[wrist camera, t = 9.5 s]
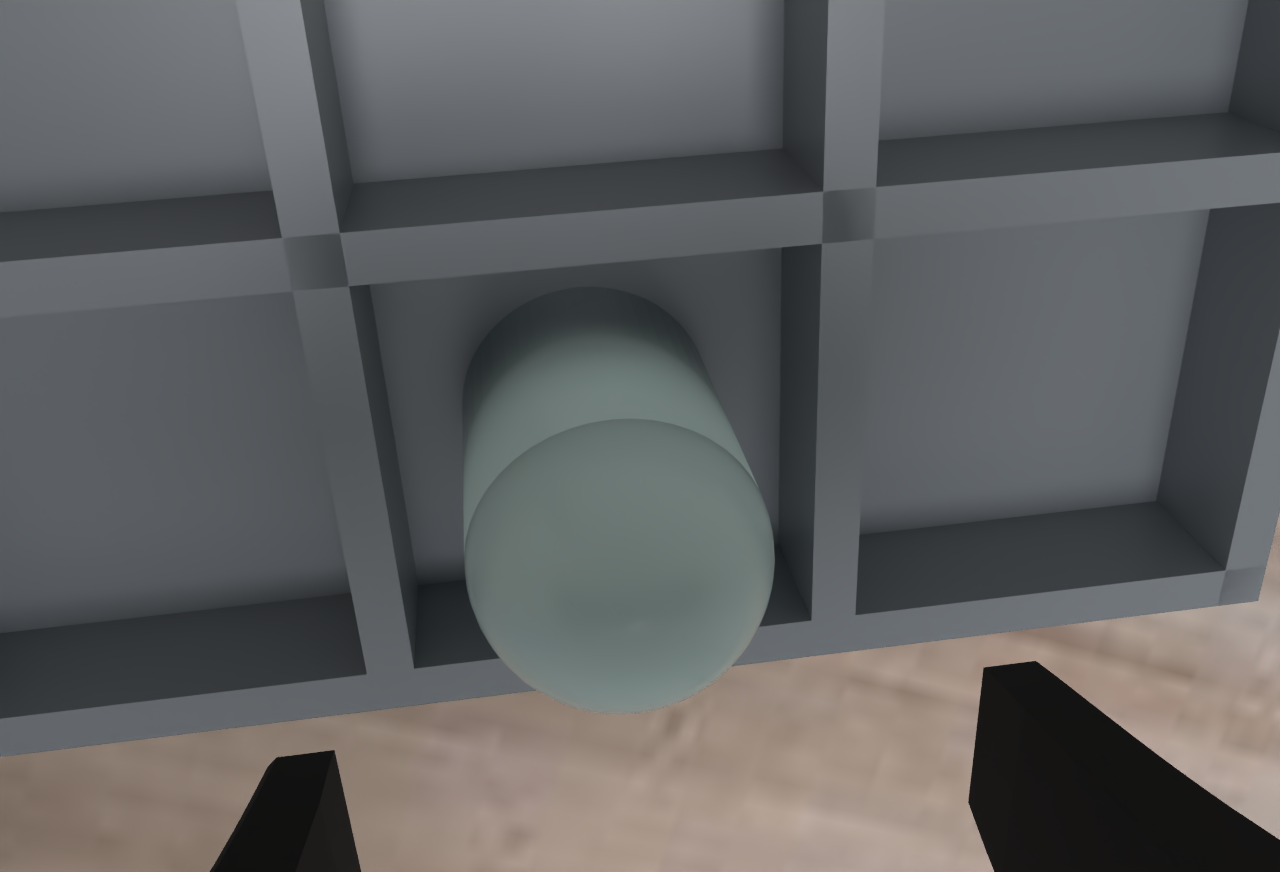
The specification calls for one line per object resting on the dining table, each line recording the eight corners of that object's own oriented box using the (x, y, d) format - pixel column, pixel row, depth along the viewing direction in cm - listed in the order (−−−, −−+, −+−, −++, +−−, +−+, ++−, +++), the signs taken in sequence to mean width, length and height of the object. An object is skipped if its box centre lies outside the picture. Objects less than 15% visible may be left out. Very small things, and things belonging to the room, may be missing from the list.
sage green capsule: (477, 520, 22) (484, 803, 16) (448, 299, 20) (444, 523, 14) (709, 494, 23) (807, 760, 16) (704, 275, 21) (813, 483, 14)
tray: (-23, 640, 23) (-96, 768, 20) (-412, -375, 15) (-627, -419, 12) (1161, 504, 26) (1258, 600, 22) (1338, -437, 18) (1521, -486, 15)
